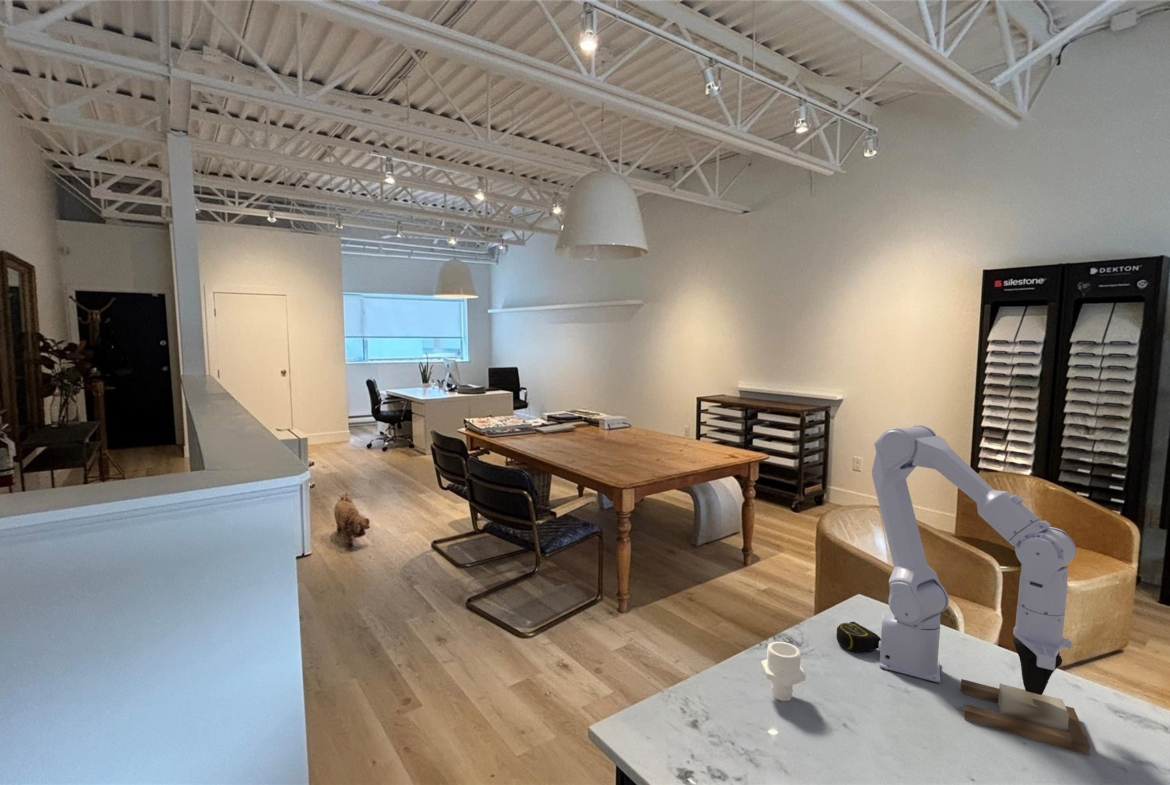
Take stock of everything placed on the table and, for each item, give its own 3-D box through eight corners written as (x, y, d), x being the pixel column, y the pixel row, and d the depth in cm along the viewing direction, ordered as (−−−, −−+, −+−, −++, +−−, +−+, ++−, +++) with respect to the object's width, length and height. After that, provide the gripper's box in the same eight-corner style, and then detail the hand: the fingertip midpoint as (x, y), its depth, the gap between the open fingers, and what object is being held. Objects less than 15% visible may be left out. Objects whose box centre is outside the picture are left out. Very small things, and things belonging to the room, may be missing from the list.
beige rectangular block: (1001, 721, 89) (1003, 697, 89) (997, 706, 93) (999, 683, 93) (1066, 740, 85) (1068, 715, 85) (1060, 723, 89) (1062, 699, 89)
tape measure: (882, 653, 109) (883, 634, 109) (855, 659, 107) (856, 640, 107) (854, 636, 116) (855, 618, 115) (827, 641, 113) (829, 623, 113)
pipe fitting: (751, 690, 96) (753, 645, 95) (782, 679, 99) (784, 635, 99) (780, 712, 90) (782, 664, 90) (812, 700, 94) (814, 653, 93)
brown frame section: (964, 719, 90) (965, 710, 89) (960, 687, 98) (961, 678, 98) (1089, 755, 82) (1090, 745, 82) (1072, 716, 91) (1073, 708, 90)
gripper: (1086, 634, 80) (1077, 726, 81) (1063, 596, 92) (1056, 676, 93) (1023, 621, 83) (1015, 709, 84) (1009, 586, 96) (1003, 663, 97)
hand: (1032, 691), depth 89 cm, fingers closed
